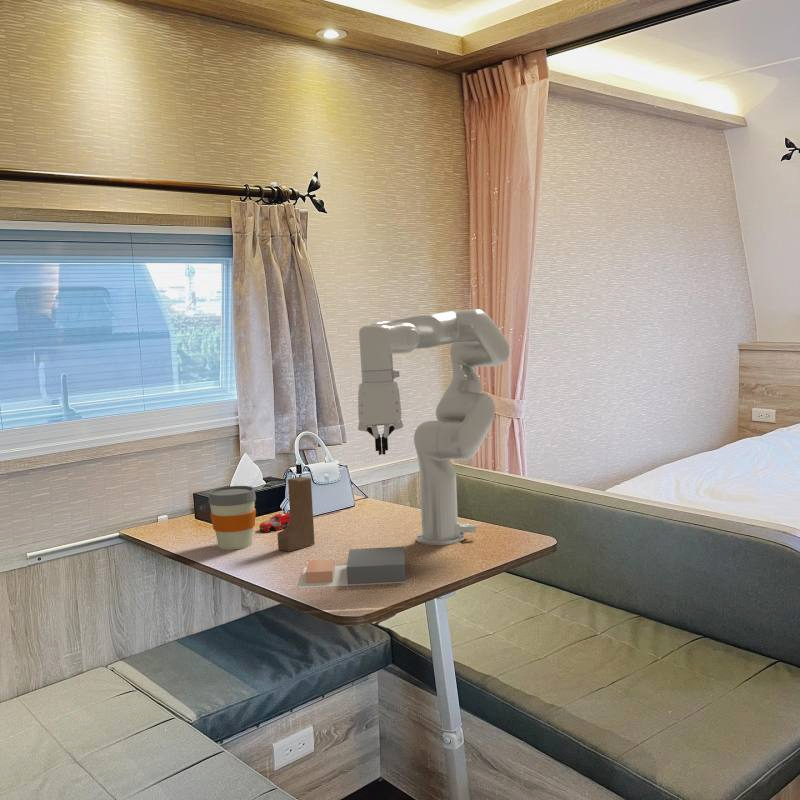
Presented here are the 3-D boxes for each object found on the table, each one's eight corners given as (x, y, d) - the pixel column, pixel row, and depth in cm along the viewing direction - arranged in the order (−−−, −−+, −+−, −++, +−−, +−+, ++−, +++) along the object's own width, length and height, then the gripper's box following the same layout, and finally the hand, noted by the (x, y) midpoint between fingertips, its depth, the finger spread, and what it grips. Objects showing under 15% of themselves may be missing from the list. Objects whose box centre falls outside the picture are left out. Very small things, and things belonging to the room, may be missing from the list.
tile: (309, 560, 194) (309, 570, 194) (305, 572, 185) (306, 583, 185) (334, 559, 194) (335, 569, 194) (332, 571, 185) (332, 581, 185)
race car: (265, 535, 232) (264, 521, 231) (255, 531, 236) (254, 518, 235) (304, 525, 240) (303, 512, 239) (294, 522, 244) (293, 509, 244)
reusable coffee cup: (261, 548, 217) (258, 492, 215) (213, 554, 213) (209, 497, 212) (256, 536, 229) (252, 483, 227) (210, 542, 225) (206, 488, 224)
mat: (404, 563, 197) (404, 562, 197) (406, 584, 182) (406, 582, 182) (304, 568, 197) (304, 567, 197) (298, 589, 182) (298, 587, 182)
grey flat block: (404, 562, 197) (403, 546, 196) (406, 581, 183) (405, 564, 182) (350, 565, 197) (349, 549, 196) (347, 584, 183) (346, 567, 182)
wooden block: (288, 552, 211) (284, 483, 210) (277, 549, 215) (273, 482, 213) (315, 544, 218) (311, 477, 216) (304, 541, 221) (300, 476, 219)
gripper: (408, 374, 198) (412, 449, 200) (346, 377, 198) (351, 452, 200) (409, 376, 190) (413, 454, 192) (345, 380, 190) (350, 458, 192)
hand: (382, 453), depth 196 cm, fingers closed
